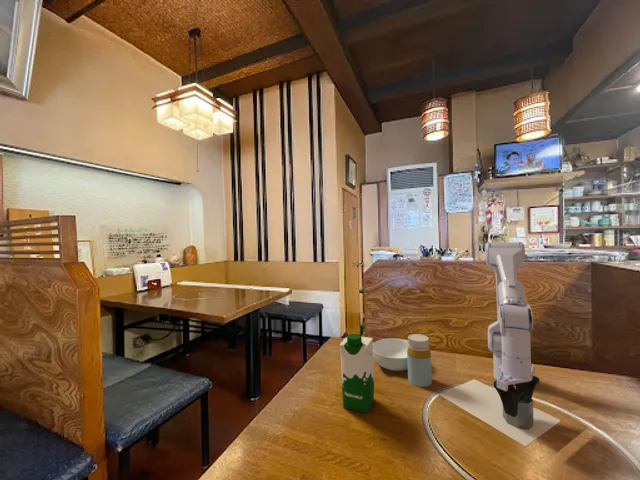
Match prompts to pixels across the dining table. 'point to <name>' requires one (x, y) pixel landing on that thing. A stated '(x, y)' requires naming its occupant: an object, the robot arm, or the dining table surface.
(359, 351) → the milk carton
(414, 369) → the bottle
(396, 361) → the cereal bowl
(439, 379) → the dining table surface
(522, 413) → the gray faceted cup
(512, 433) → the board
